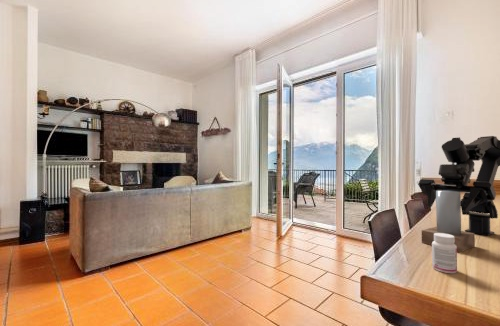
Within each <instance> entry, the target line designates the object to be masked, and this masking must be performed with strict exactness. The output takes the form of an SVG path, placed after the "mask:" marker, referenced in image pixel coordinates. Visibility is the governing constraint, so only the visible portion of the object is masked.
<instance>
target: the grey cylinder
mask: <svg viewBox="0 0 500 326" xmlns="http://www.w3.org/2000/svg"><path fill="white" fill-rule="evenodd" d="M461 199H462V198H461V192H460V191H451V190H436V199H435V208H436V209H435V214H436V227H437V232H439V233H445V234H450V235H461V231H462V209H461Z"/></svg>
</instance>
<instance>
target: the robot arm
mask: <svg viewBox="0 0 500 326" xmlns="http://www.w3.org/2000/svg"><path fill="white" fill-rule="evenodd" d="M461 139H462V138H461V137H460V136H459V137H452V138H451V140H448V141H446V142H444V143H442V145H441V150H442V152H443V153H444V156H445V158H446V159H447V162H448V163H449V164H448V163H447V164H444V163H443V164H440V165H439V169H438V175H439V176H441V178H440V181H441V182H442V183H439V182H437V183H436V181H435V180H434V179H425V178H424V179H420V180H419V181H418V183H417V185H418V186H419V188H420V191H421V192H422V194H423V195H425V197H426V200H427V206H428V208H429V209H431V208H432V207H433V205H434V203H435V202H436V190H451V191H460V194H461V193H464V194H463V196H462V198H461V215H463V216H464V215H466V216H468V228H467V229H465V230H464V232H470V233H475V234H477V235H481V236H482V235H483V236H490V235H494V234H495V231H491V219H492V220H493V219H498V218H499V217H498V216H499V214H498V210H497V207H496V204H495V203H494V201H495V200H496V196H497V194H496V190H495V188H494V181H495V178H496V175H497V172H498V168H499V167H500V139H499V138H498V137H497V136H494V135H488V136H480V137H478V138H477V139H475V140H473V141H472V142H470V143H467V144H465V143H464V141H463V140H461ZM474 161H475V162H477V161H481V166H480V168H479V171H478V174H477V177H476V180H475V181H473V182H471V177H472V173H474V172H475V162H474ZM471 183H472V185H468V184H471Z"/></svg>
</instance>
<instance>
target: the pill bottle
mask: <svg viewBox="0 0 500 326" xmlns="http://www.w3.org/2000/svg"><path fill="white" fill-rule="evenodd" d="M434 240H435V241H433V242H432V245H431V264H432V265H431V266H432V268H433V269H435V270H436V271H439V272H441V273H446V274H456V273H457V272H458V254H457V253H458V252H457V246H456V245H455V244H454V243H455V237H454V236H453V235H450V234H445V233H434Z"/></svg>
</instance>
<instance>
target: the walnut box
mask: <svg viewBox="0 0 500 326" xmlns="http://www.w3.org/2000/svg"><path fill="white" fill-rule="evenodd" d="M434 233H439V232H437V226H433V227H429V228H426V229H421V243H422V244H425V245H429V246H432V242H433V241H435V240H434ZM475 234H476V233H470V232H465V230H464V231H463V230H461V235H453V236H454V237H455V243H454V244H455V245H456V246H457V253H462V252H464V251H466V250H468V249H472V248H475V247H476V246H475V243H476V241H475V236H476V235H475Z"/></svg>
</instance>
